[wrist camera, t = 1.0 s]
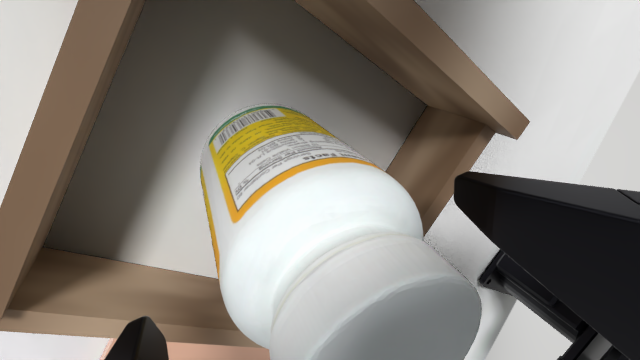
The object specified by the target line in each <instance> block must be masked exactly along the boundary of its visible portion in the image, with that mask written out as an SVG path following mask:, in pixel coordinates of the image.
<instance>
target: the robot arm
mask: <svg viewBox="0 0 640 360" xmlns="http://www.w3.org/2000/svg"><path fill="white" fill-rule="evenodd" d="M454 201H455V203H456V205H457V206H458V207H459V208H460V209H461V210H462V211H463V213H464V214H465V215H466V216H467V217H468V218H469V219H470V220H471V221H472V222H473V223H474V224H475V225H476V226H477V227H478V228H479V229H480V230H481V231H482V232H483V233H484V234H485V235H486V236H487V237H488V238H489V239H490V240H491V241H492V242H493V243H494V244H495V245H496V246H497V247H499V248H500V249H501V251H500V253H499V254H498V255H497V257H496V258H495V259H494V261H493V262H492V263H491V265H490V266H489V267H488V269H487V270H486V271H485V273H484V274H483V275H482V277H481V278H480V283H481V284H482V285H483V286H485V287H487V288H490V289H493V290H496V291H499V292H503V293H506V294H509V295H512V296H514V297H516V298H517V299H518V300H519V301H521V302H522V303H523V304H524V305H526V306H527V307H528V308H529V309H531V310H532V311H533V312H534V313H536V314H537V315H538V316H539V317H541V318H542V319H543V320H544V321H546V322H547V323H548V324H550V325H551V326H552V327H553V328H555V329H556V330H557V331H559V332H560V333H561V334H562V335H564V336H565V337H566V338H567V339H568V340H570V341H571V342H572V343H573V344H572V345H571V346H570V348H569V349H568V350H567V351H566V352H565V353H564V355H563V356H560V357H559V358H558V359H557V360H640V192H637V191H628V190H621V189H617V190H615V189H612V188H604V187H595V186H587V185H578V184H570V183H562V182H553V181H545V180H537V179H528V178H520V177H512V176H503V175H495V174H487V173H478V172H470V171H468V172H464V173H462V174H460V175H457V176H456V177H455V179H454ZM104 360H169V356H168V349H167V343H166V340H165V337H164V335H163V334H162V332H161V331H160V330H159V328H158V327H157V326H156V324H155V323H154V322H153V320H152V319H151V318H150V317H149V316H142V317H140V318H137V319H135V320H133V321H131V322H129V323H128V324H127V325H126V326H125V328H124V329H123V331H122V333H121V334H120V336H119V337H118V339H117V340H116V342H115V343H114V345H113V347H112V348H111V350H110V351H109V353H108V354H107V356H106V357H105V359H104Z"/></svg>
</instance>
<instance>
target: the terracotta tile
mask: <svg viewBox="0 0 640 360" xmlns="http://www.w3.org/2000/svg"><path fill="white" fill-rule="evenodd" d="M116 340H117V339H116V338H110V340H109V342H108V344H107V346H106V348H105V350H104V352H103V354H102V356H101V358H100V360H104V359H105V357H106V356H107V354H108V353H109V351H110V350H111V348H112V347H113V345H114V343H115V342H116ZM166 343H167V349H168V356H169V360H270V353H269V349H267V348H254V347H239V346H224V345H208V344H193V343H178V342H166Z"/></svg>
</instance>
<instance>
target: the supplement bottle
mask: <svg viewBox="0 0 640 360" xmlns="http://www.w3.org/2000/svg"><path fill="white" fill-rule="evenodd" d="M200 177H201V184H202V189H203V196H204V200H205V205H206V211H207V216H208V221H209V228H210V232H211V238H212V245H213V250H214V255H215V261H216V267H217V273H218V278H219V284H220V289H221V293H222V297H223V301H224V304H225V306H226V309H227V311H228V313H229V315H230V317H231V319H232V320H233V322H234V323H235V325H236V326H237V327H238V328H239V329H240V331H241V332H242V333H243V334H244V335H245V336H247V337H248V338H249V339H250V340H252V341H253V342H255V343H256V344H258V345H260V346H262V347H264V348H267V349H269V353H270V360H464V358H465V356H466V355H467V353H468V351H469V349H470V347H471V346H472V344H473V342H474V340H475V337H476V334H477V332H478V329H479V325H480V319H481V311H482V307H481V300H480V297H479V295H478V292H477V291H476V289H475V288H474V287H473V285H472V284H471V283H470V282H469V281H468V280H467V279H466V278H465V277H464V276H463V275H462V274H461V273H460V272H459V271H457V270H456V269H455V268H454V267H453V266H452V265H451V264H450V263H449V262H448V261H446V260H445V259H444V258H443V257H442V256H441V255H440V254H439V253H438V252H437V251H436V250H435V249H434V248H433V247H431V246H430V245H429V244H427V243H426V242H424V241H423V228H422V222H421V218H420V215H419V212H418V209H417V207H416V205H415V203H414V201H413V199H412V198H411V196H410V195H409V193H408V192H407V191H406V190H405V189H404V187H403V186H402V185H400V184H399V183H398V182H397V181H396V180H395V179H394V178H392V177H391V176H390V175H389V174H387V173H386V172H384V171H383V170H382V169H380V168H379V167H377V166H376V165H375V164H373V163H372V162H371V161H369V160H368V159H366V158H365V157H364V156H362V155H361V154H359V153H358V152H357V151H355V150H354V149H352V148H351V147H349V146H348V145H347V144H345V143H344V142H342V141H341V140H339V139H338V138H336V137H335V136H334V135H332V134H331V133H329V132H328V131H327V130H325V129H324V128H322V127H321V126H320V125H318V124H317V123H316V122H314V121H313V120H312V119H310V118H309V117H307V116H306V115H304V114H303V113H301V112H299V111H297V110H295V109H293V108H290V107H287V106H283V105H279V104H258V105H253V106H249V107H245V108H243V109H241V110H238V111H236V112H235V113H233V114H231V115H229V116H228V117H227V118H225V119H224V120H223V121H222V122H220V123H219V124H218V125H217V127H216V128H215V129H214V130H213V132H212V133H211V134H210V136H209V138H208V140H207V141H206V143H205V146H204V148H203V151H202V155H201V161H200Z"/></svg>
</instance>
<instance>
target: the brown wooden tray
mask: <svg viewBox="0 0 640 360" xmlns="http://www.w3.org/2000/svg"><path fill="white" fill-rule="evenodd" d="M145 1H146V0H79V1H78V3H77V6H76V8H75V11H74V14H73V16H72V19H71V22H70V24H69V27H68V30H67V32H66V35H65V38H64V40H63V43H62V46H61V48H60V51H59V54H58V56H57V59H56V61H55V64H54V67H53V69H52V72H51V75H50V77H49V80H48V83H47V85H46V88H45V91H44V93H43V96H42V99H41V101H40V104H39V107H38V109H37V112H36V114H35V117H34V120H33V122H32V125H31V128H30V130H29V133H28V136H27V138H26V141H25V144H24V146H23V149H22V152H21V154H20V157H19V160H18V162H17V165H16V167H15V170H14V173H13V175H12V178H11V181H10V183H9V186H8V189H7V191H6V194H5V197H4V199H3V202H2V205H1V207H0V331H9V332H24V333H39V334H55V335H70V336H86V337H101V338H116V339H118V337H119V336H120V334H121V333H122V331H123V329H124V328H125V326H126V325H127V324H128V323H129V322H131V321H133V320H135V319H137V318H140V317H142V316H149V317H150V318H151V319H152V320H153V322H154V323H155V324H156V326H157V327H158V328H159V330H160V331H161V332H162V334H163V335H164V337H165V340H166V342H178V343H193V344H208V345H224V346H239V347H254V348H264V347H262V346H260V345H258V344H256V343H255V342H253V341H252V340H250V339H249V338H248V337H247V336H245V335H244V334H243V333H242V332H241V331H240V329H239V328H238V327H237V326H236V325H235V323H234V322H233V320H232V319H231V317H230V315H229V313H228V311H227V309H226V306H225V304H224V301H223V297H222V293H221V289H220V284H219V279H215V278H209V277H204V276H198V275H193V274H187V273H182V272H176V271H171V270H165V269H160V268H154V267H149V266H143V265H138V264H132V263H127V262H122V261H116V260H111V259H105V258H100V257H94V256H89V255H83V254H78V253H72V252H67V251H61V250H56V249H50V248H45V247H43V245H44V243H45V240H46V238H47V236H48V233H49V231H50V228H51V226H52V224H53V221H54V219H55V216H56V214H57V212H58V209H59V207H60V205H61V202H62V200H63V197H64V195H65V193H66V190H67V188H68V185H69V183H70V181H71V178H72V176H73V173H74V171H75V169H76V166H77V164H78V161H79V159H80V157H81V154H82V152H83V150H84V147H85V145H86V142H87V140H88V138H89V135H90V133H91V130H92V128H93V126H94V123H95V121H96V118H97V116H98V114H99V111H100V109H101V106H102V104H103V102H104V99H105V97H106V95H107V92H108V90H109V87H110V85H111V83H112V80H113V78H114V75H115V73H116V71H117V68H118V66H119V63H120V61H121V59H122V56H123V54H124V52H125V49H126V47H127V44H128V42H129V40H130V37H131V35H132V32H133V30H134V28H135V25H136V23H137V20H138V18H139V16H140V13H141V11H142V8H143V6H144V4H145ZM294 1H295V2H296V3H298V4H299V5H300V6H302V7H303V8H304V9H305V10H307V11H308V12H309V13H310V14H312V15H313V16H314V17H316V18H317V19H318V20H319V21H321V22H322V23H323V24H324V25H326V26H327V27H328V28H330V29H331V30H332V31H333V32H335V33H336V34H337V35H338V36H340V37H341V38H342V39H344V40H345V41H346V42H347V43H349V44H350V45H351V46H352V47H354V48H355V49H356V50H358V51H359V52H360V53H361V54H363V55H364V56H365V57H366V58H368V59H369V60H370V61H372V62H373V63H374V64H375V65H377V66H378V67H379V68H380V69H382V70H383V71H384V72H386V73H387V74H388V75H389V76H391V77H392V78H393V79H394V80H396V81H397V82H398V83H400V84H401V85H402V86H403V87H405V88H406V89H407V90H408V91H410V92H411V93H412V94H414V95H415V96H416V97H417V98H419V99H420V100H421V101H422V102H424V103H425V104H426V105H428V106H427V107H426V109H425V110H424V112H423V113H422V115H421V117H420V118H419V120H418V121H417V123H416V125H415V126H414V128H413V129H412V131H411V132H410V134H409V136H408V137H407V139H406V140H405V142H404V144H403V145H402V147H401V148H400V150H399V152H398V153H397V155H396V156H395V158H394V159H393V161H392V163H391V164H390V166H389V167H388V169H387V171H386V173H387V174H389V175H390V176H391V177H392V178H394V179H395V180H396V181H397V182H398V183H399V184H400V185H402V186H403V187H404V189H405V190H406V191H407V192H408V193H409V195H410V196H411V198H412V199H413V201H414V203H415V205H416V207H417V209H418V212H419V215H420V218H421V222H422V228H423V237H424V236H425V234H426V233H427V232H428V230H429V229H430V227H431V226H432V224H433V223H434V221H435V220H436V218H437V217H438V216H439V214H440V213H441V211H442V210H443V208H444V207H445V205H446V204H447V202H448V201H449V200H450V198H451V197H452V195H453V194H454V179H455V177H456V176H457V175H460V174H462V173H464V172H468V171H469V170H470V169H471V167H472V166H473V165H474V163H475V162H476V160H477V159H478V157H479V156H480V154H481V153H482V151H483V150H484V149H485V147H486V146H487V144H488V143H489V141H490V140H491V138H492V137H493V135H494V134H495V133H498V134H501V135H504V136H507V137H510V138H513V139H516V140H518V138H519V137H520V135H521V134H522V132H523V131H524V130H525V128H526V127H527V125H528V124H529V122H530V121H529V120H528V119H527V118H526V117H525V116H524V115H523V114H522V113H521V112H520V111H519V110H518V109H517V108H516V106H515V105H514V104H513V103H512V102H511V101H510V100H509V99H508V98H507V97H506V96H505V95H504V94H503V93H502V92H501V91H500V90H499V89H498V88H497V87H496V86H495V85H494V84H493V82H492V81H491V80H490V79H489V78H488V77H487V76H486V75H485V74H484V73H483V72H482V71H481V70H480V69H479V68H478V67H477V66H476V65H475V64H474V63H473V62H472V61H471V59H470V58H469V57H468V56H467V55H466V54H465V53H464V52H463V51H462V50H461V49H460V48H459V47H458V46H457V45H456V44H455V43H454V42H453V41H452V40H451V39H450V38H449V36H448V35H447V34H446V33H445V32H444V31H443V30H442V29H441V28H440V27H439V26H438V25H437V24H436V23H435V22H434V21H433V20H432V19H431V18H430V17H429V16H428V15H427V13H426V12H425V11H424V10H423V9H422V8H421V7H420V6H419V5H418V4H417V3H416V2H415V1H414V0H294Z"/></svg>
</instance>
